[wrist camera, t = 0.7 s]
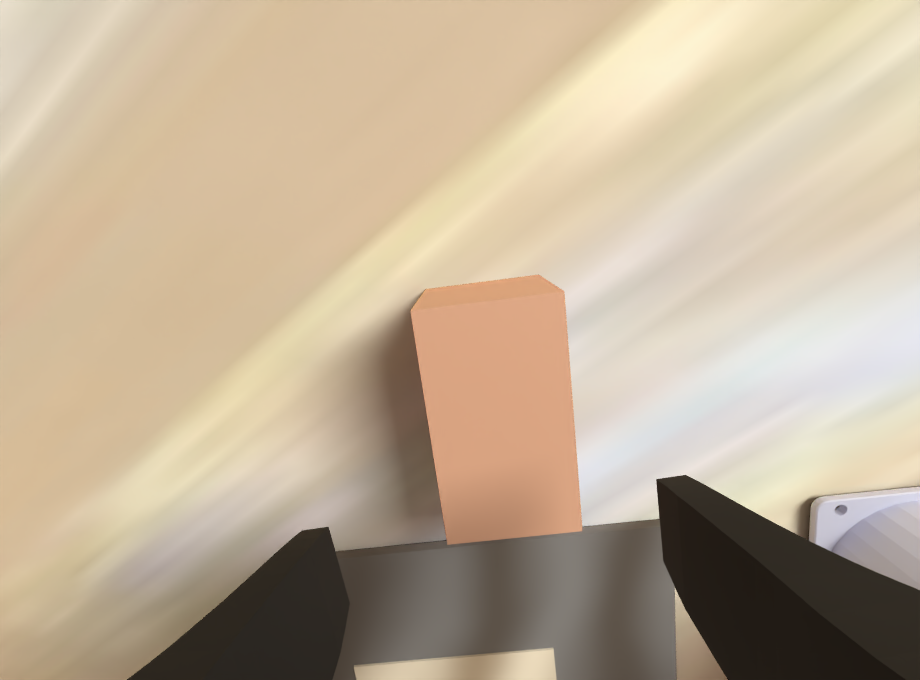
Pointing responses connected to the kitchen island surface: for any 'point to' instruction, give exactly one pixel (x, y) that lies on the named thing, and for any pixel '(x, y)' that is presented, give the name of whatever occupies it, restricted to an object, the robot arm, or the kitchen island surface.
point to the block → (499, 408)
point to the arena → (512, 608)
